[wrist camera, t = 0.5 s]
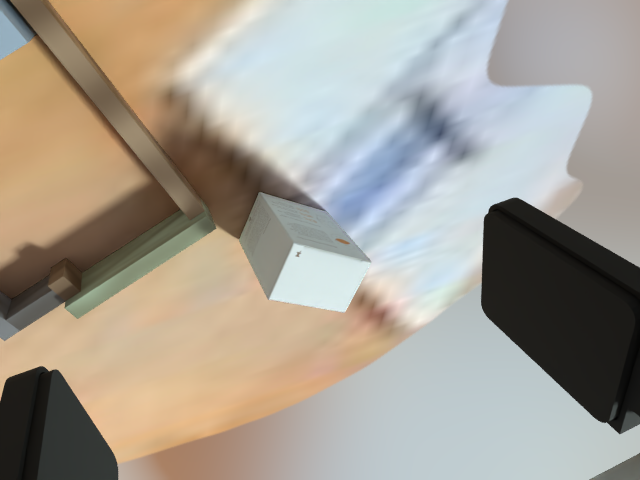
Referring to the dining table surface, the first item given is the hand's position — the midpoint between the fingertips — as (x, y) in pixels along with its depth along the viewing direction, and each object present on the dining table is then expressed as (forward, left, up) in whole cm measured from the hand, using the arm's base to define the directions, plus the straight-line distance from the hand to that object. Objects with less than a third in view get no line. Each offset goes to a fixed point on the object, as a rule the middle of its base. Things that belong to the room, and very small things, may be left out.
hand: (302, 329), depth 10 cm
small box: (+19, +1, -34) cm, 39 cm away
